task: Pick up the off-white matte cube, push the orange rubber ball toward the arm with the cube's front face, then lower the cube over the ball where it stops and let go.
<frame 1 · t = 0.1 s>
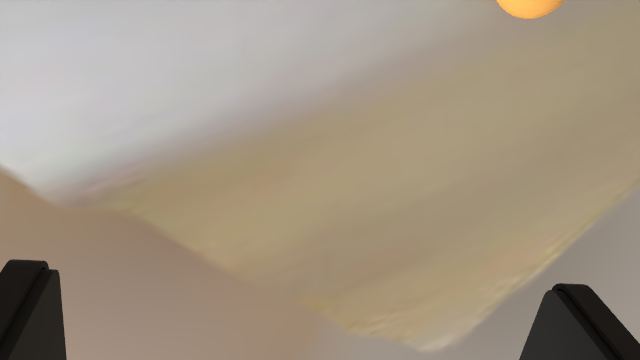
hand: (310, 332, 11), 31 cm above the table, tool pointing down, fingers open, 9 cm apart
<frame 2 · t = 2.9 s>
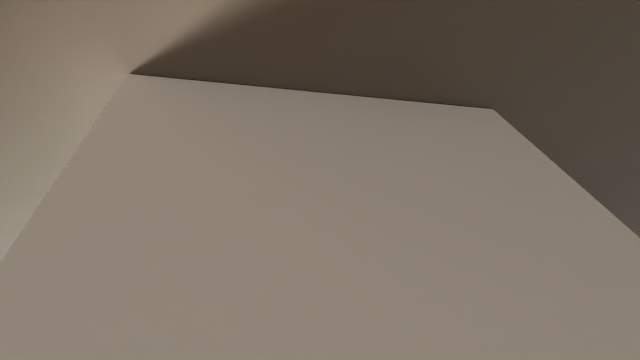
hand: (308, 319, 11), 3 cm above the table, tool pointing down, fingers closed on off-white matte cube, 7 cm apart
off-white matte cube: (298, 247, 13), on the table, touching gripper
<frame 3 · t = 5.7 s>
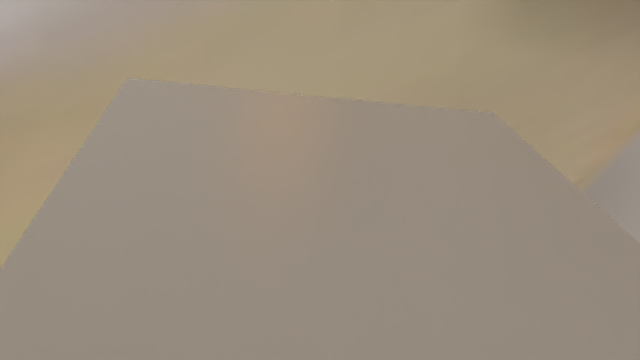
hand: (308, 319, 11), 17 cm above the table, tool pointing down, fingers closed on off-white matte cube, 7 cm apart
off-white matte cube: (298, 251, 13), point 14 cm above the table, touching gripper
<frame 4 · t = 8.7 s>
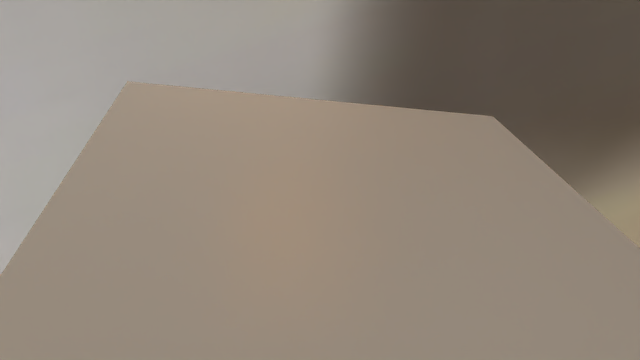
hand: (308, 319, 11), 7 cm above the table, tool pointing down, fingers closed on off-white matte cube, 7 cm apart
off-white matte cube: (298, 253, 13), point 5 cm above the table, touching gripper
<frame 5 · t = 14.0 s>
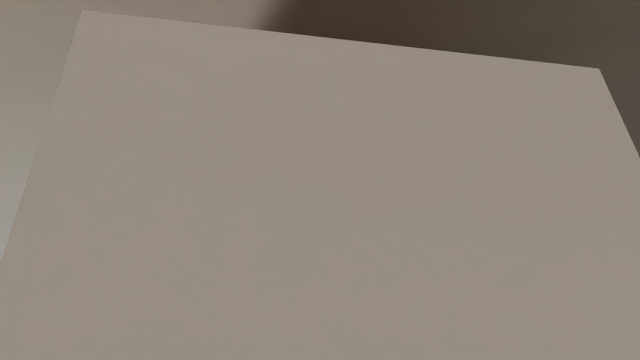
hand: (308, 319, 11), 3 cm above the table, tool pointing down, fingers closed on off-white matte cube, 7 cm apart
off-white matte cube: (316, 188, 11), point 2 cm above the table, tilted 28°, touching ball, gripper
when the fingers open (3 cm above the table, at t = 14.5 s): off-white matte cube stays where it is, resting on ball.
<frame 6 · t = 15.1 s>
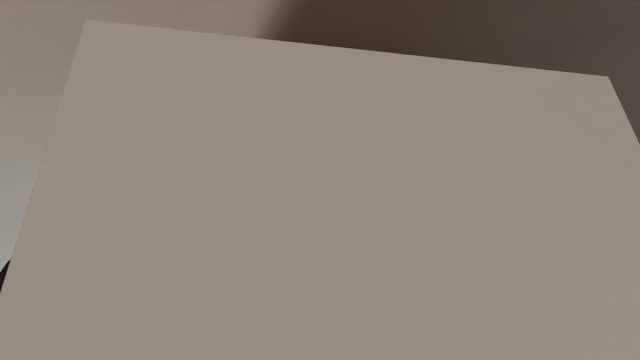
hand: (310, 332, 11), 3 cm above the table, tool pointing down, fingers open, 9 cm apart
off-white matte cube: (320, 196, 11), point 2 cm above the table, tilted 28°, touching ball
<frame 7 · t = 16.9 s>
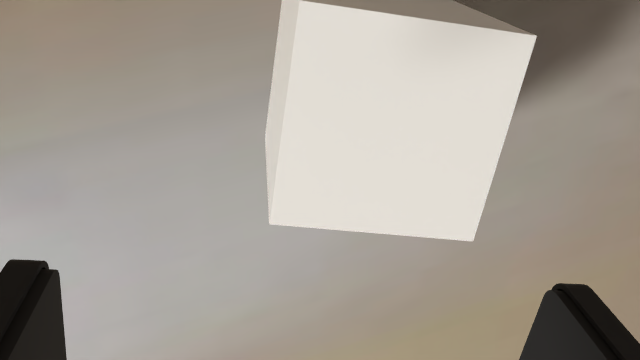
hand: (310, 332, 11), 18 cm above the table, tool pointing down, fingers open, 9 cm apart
off-white matte cube: (354, 70, 27), on the table
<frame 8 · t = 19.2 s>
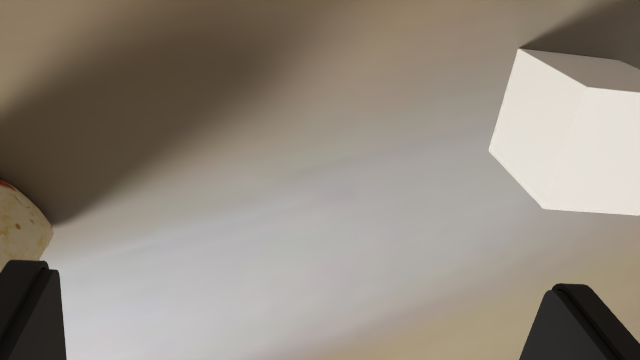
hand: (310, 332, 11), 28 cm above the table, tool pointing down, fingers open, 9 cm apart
off-white matte cube: (551, 106, 41), on the table
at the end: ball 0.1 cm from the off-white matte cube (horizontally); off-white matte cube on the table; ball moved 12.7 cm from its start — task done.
